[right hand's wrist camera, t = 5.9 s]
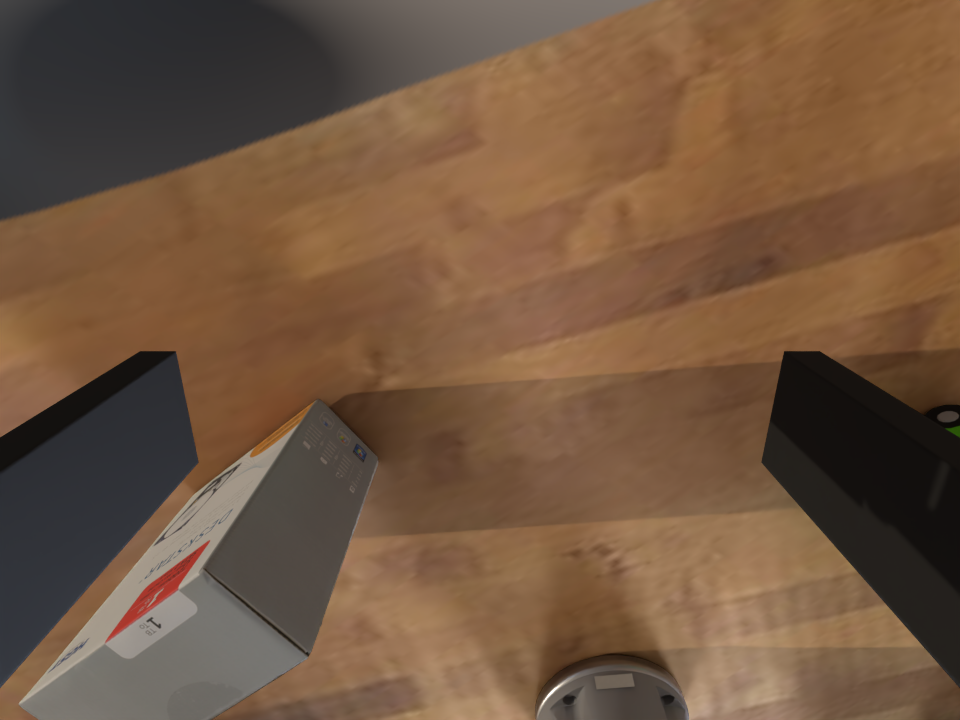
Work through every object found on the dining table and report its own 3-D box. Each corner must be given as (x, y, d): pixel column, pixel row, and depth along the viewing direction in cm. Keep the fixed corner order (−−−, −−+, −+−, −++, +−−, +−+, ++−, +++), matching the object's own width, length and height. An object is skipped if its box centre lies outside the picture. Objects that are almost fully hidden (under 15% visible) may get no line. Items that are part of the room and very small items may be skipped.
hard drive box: (318, 393, 46) (207, 566, 27) (382, 458, 48) (320, 660, 29) (189, 494, 49) (11, 710, 30) (253, 551, 51) (124, 784, 33)
